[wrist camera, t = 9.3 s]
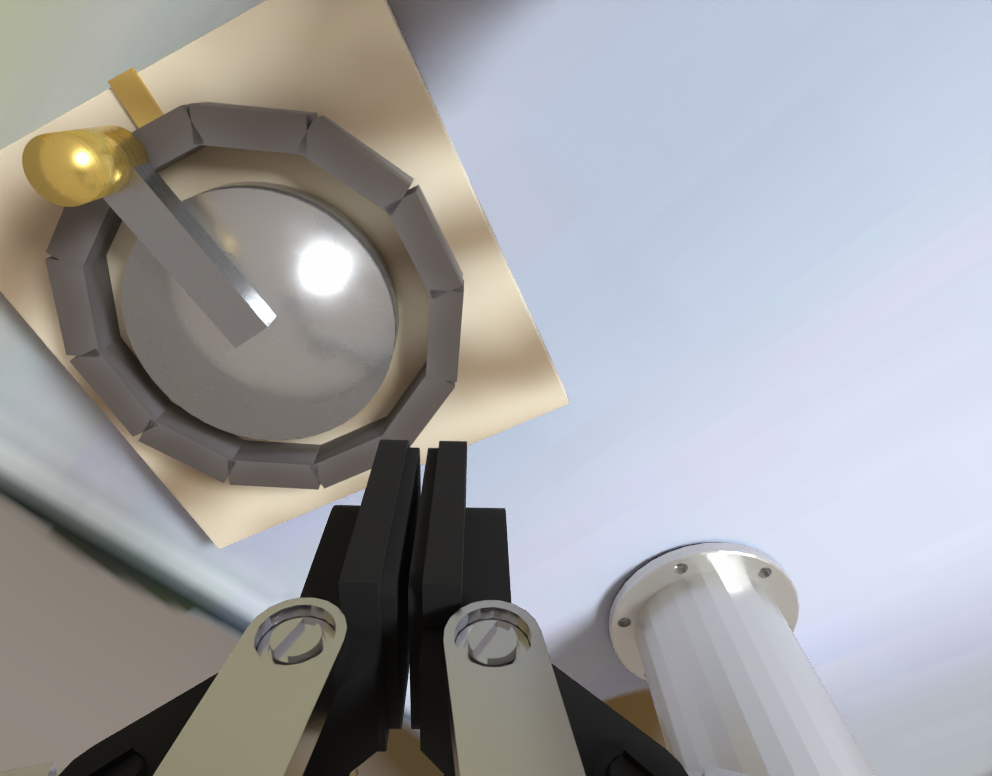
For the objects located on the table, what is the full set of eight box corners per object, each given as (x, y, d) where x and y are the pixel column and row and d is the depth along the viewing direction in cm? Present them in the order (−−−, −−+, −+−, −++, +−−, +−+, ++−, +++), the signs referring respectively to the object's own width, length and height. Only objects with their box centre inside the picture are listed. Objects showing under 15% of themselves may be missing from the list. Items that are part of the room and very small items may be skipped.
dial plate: (563, 386, 35) (574, 422, 32) (230, 527, 39) (206, 573, 35) (364, -49, 26) (347, -69, 23) (-51, 184, 30) (-123, 199, 26)
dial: (447, 346, 32) (442, 402, 26) (260, 458, 34) (221, 530, 29) (228, 40, 25) (164, 31, 20) (19, 204, 28) (-88, 235, 22)
